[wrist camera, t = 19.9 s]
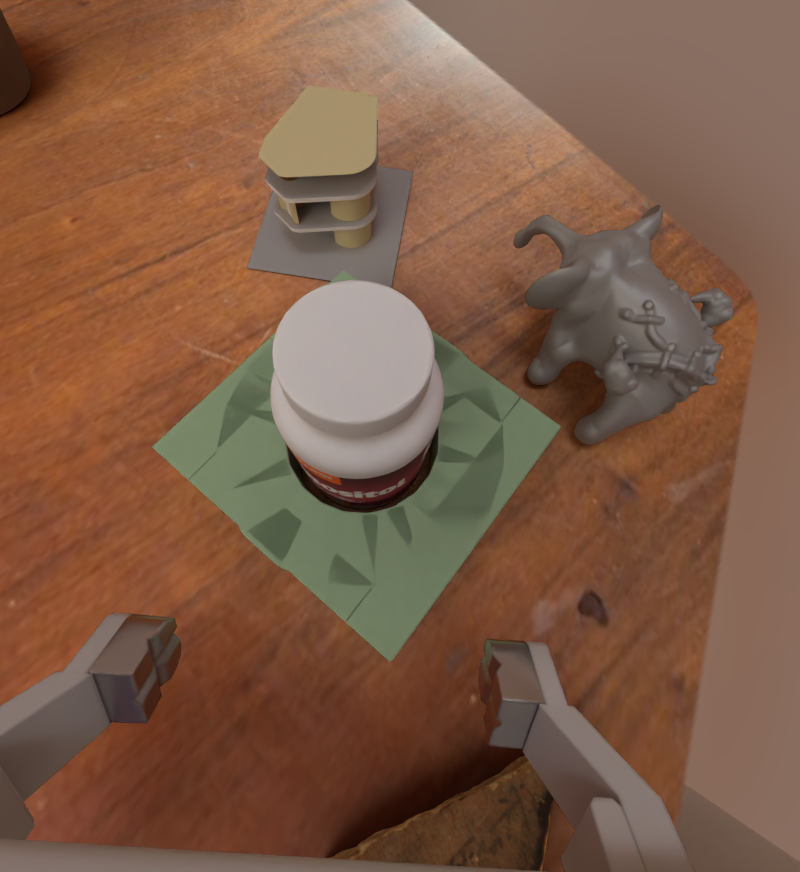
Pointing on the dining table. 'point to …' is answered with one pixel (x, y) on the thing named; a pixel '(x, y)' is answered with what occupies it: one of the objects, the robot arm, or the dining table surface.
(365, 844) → the shard
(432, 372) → the pill bottle
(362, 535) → the socket pad
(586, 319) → the gray elephant figurine
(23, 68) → the flower pot
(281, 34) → the dining table surface
